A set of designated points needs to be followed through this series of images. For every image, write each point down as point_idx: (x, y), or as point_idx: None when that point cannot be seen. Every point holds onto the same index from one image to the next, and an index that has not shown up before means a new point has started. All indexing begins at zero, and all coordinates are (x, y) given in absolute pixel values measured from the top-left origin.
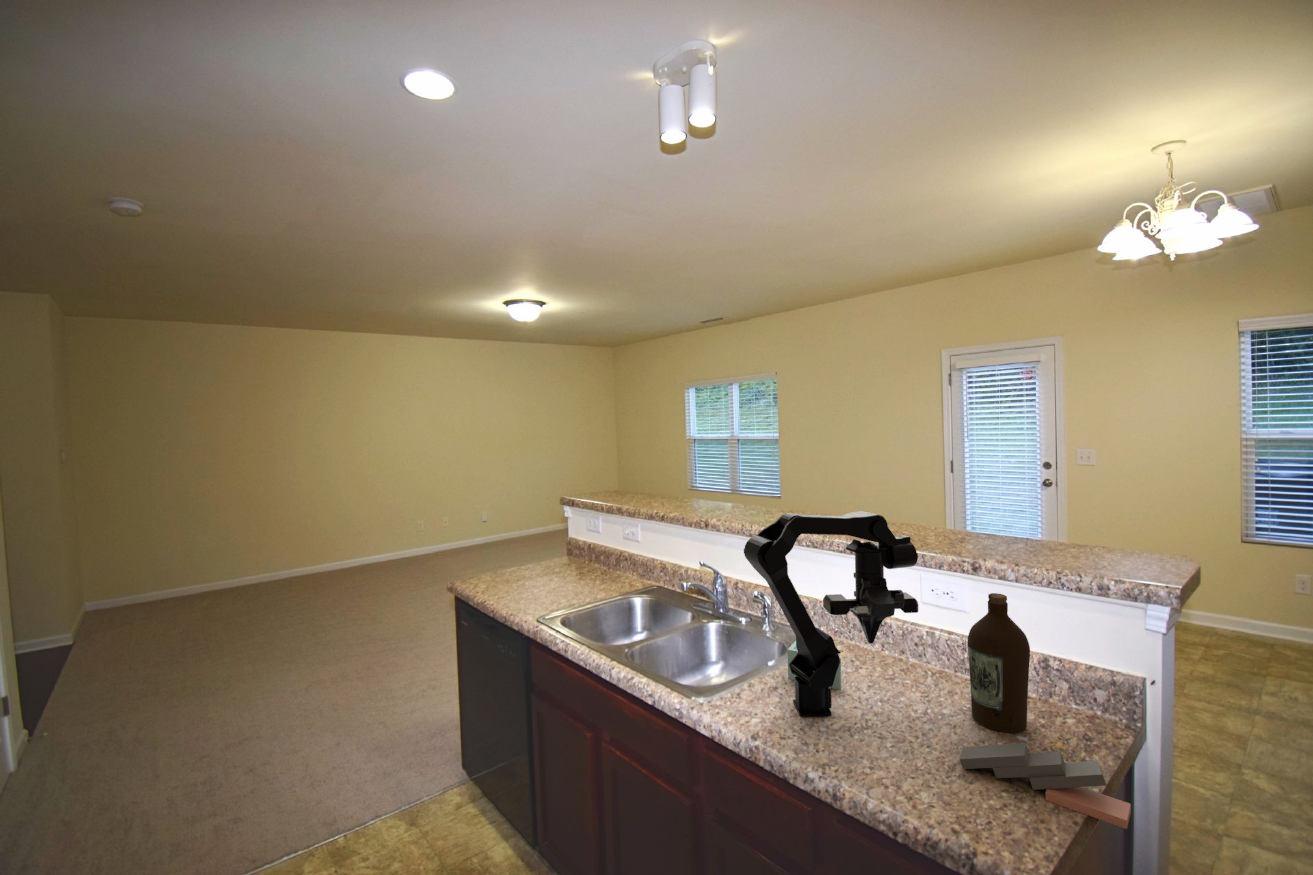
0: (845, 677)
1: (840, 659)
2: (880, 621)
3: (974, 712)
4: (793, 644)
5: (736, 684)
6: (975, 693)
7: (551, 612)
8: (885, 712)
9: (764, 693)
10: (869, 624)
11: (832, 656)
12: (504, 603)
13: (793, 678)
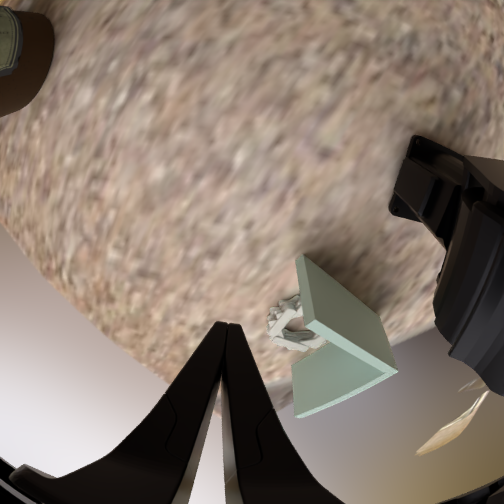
0: (253, 302)
1: (310, 319)
2: (131, 453)
3: (41, 52)
4: (364, 388)
5: None
6: (4, 46)
7: (451, 425)
8: (252, 103)
9: None
10: (244, 448)
11: None
12: (461, 427)
13: (374, 313)
